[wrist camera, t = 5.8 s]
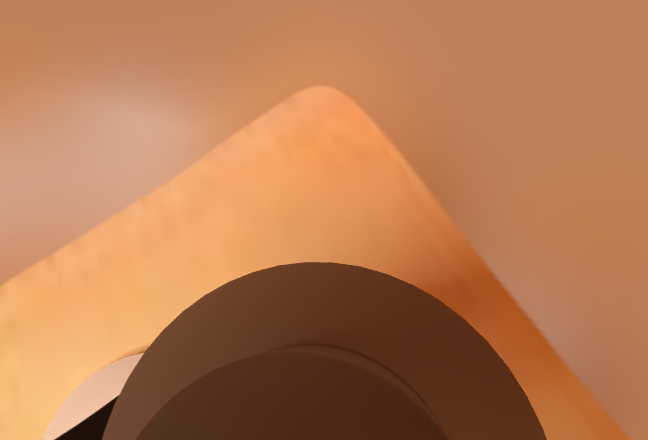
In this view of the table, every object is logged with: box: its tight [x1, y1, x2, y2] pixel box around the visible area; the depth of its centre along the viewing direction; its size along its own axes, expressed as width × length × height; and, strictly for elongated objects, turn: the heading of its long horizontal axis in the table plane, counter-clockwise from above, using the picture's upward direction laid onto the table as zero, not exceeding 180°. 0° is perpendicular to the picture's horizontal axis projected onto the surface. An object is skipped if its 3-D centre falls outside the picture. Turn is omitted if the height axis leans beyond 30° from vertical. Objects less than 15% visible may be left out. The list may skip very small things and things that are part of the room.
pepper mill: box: [102, 262, 547, 440], centre depth 9 cm, size 5×5×13 cm
